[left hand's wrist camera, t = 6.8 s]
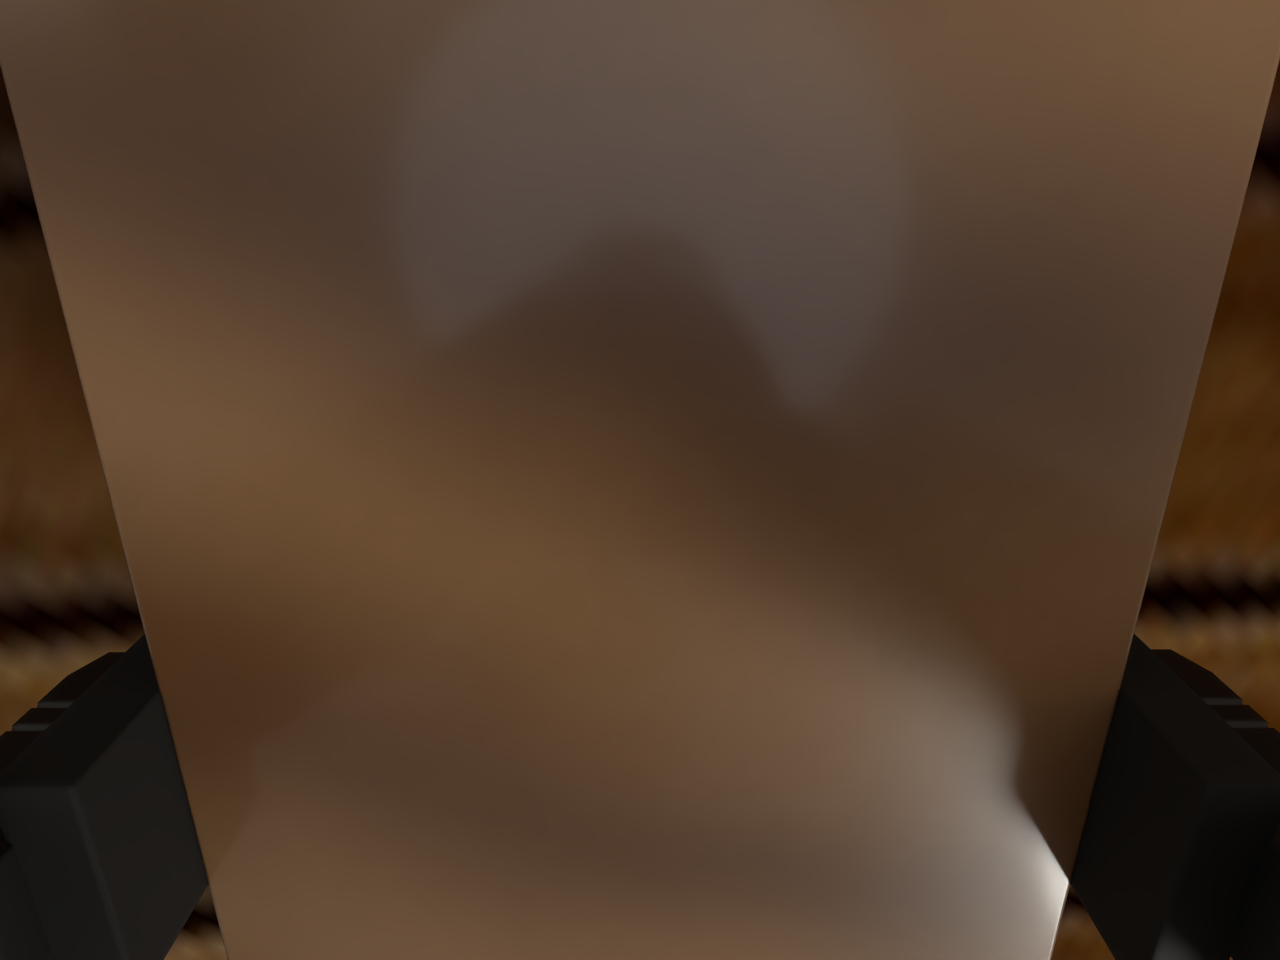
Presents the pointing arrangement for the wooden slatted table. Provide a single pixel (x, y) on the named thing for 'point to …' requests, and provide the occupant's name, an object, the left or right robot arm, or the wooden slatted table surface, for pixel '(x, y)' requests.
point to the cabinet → (639, 443)
